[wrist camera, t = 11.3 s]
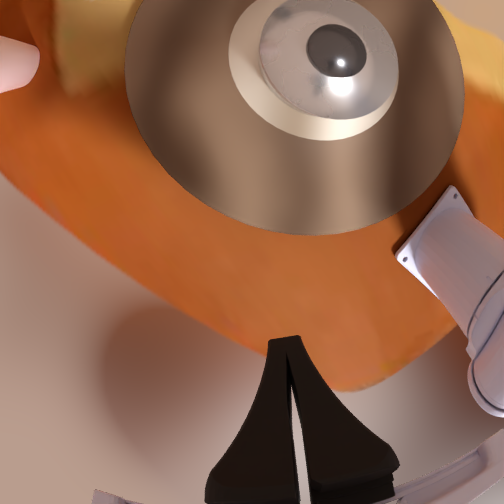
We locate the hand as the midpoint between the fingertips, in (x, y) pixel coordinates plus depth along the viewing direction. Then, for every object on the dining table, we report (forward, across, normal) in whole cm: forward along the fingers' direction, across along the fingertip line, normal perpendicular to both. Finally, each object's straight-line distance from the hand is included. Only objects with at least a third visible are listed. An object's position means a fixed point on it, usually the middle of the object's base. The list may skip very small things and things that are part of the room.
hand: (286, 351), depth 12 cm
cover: (+7, -5, -12) cm, 15 cm away
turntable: (+9, -5, -12) cm, 16 cm away
